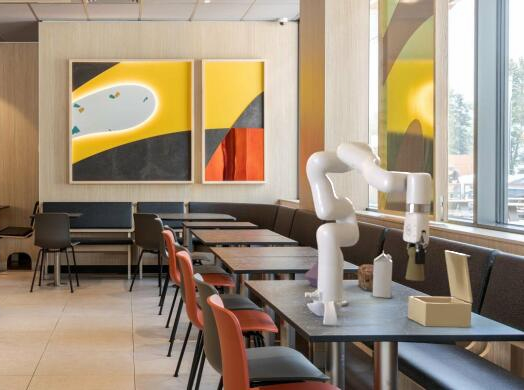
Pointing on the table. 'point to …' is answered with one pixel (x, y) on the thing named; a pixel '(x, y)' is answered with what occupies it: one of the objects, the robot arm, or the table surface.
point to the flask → (313, 275)
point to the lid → (459, 275)
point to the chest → (439, 311)
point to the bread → (366, 276)
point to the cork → (414, 267)
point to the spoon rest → (326, 311)
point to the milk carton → (382, 276)
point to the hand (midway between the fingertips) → (415, 262)
